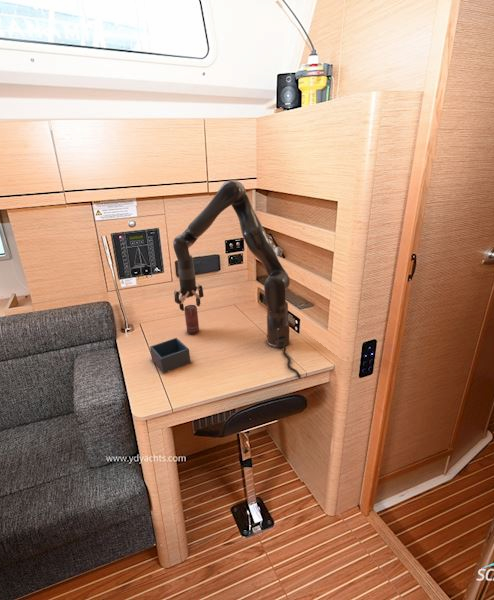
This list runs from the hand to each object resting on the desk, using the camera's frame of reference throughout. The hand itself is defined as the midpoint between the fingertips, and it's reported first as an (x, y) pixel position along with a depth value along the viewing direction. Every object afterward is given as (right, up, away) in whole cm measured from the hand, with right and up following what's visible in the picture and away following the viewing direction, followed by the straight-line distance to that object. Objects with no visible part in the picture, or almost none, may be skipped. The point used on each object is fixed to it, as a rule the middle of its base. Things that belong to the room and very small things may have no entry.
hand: (190, 308), depth 163 cm
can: (+1, -13, +5) cm, 14 cm away
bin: (-6, -23, -19) cm, 30 cm away
